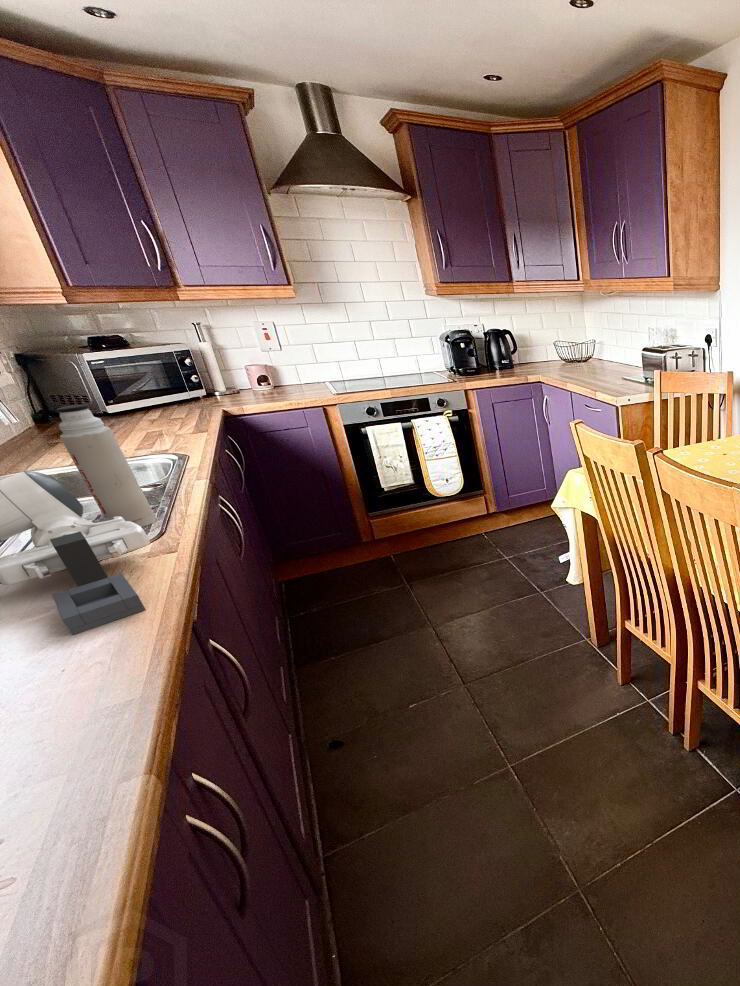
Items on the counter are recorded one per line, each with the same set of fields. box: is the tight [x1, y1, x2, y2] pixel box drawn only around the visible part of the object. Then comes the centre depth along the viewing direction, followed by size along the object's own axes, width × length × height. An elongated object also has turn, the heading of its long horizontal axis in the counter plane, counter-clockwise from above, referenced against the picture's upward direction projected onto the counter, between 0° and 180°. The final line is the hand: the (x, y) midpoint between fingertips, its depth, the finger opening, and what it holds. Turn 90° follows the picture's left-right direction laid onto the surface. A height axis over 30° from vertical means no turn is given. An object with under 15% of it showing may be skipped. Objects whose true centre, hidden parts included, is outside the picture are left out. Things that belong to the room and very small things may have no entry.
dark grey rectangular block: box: [50, 532, 109, 587], centre depth 106 cm, size 6×4×10 cm, turn 52°
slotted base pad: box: [51, 573, 146, 636], centre depth 99 cm, size 14×9×3 cm, turn 52°
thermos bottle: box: [56, 403, 157, 528], centre depth 131 cm, size 8×8×28 cm
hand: (81, 562), depth 105 cm, fingers open, 8 cm apart
